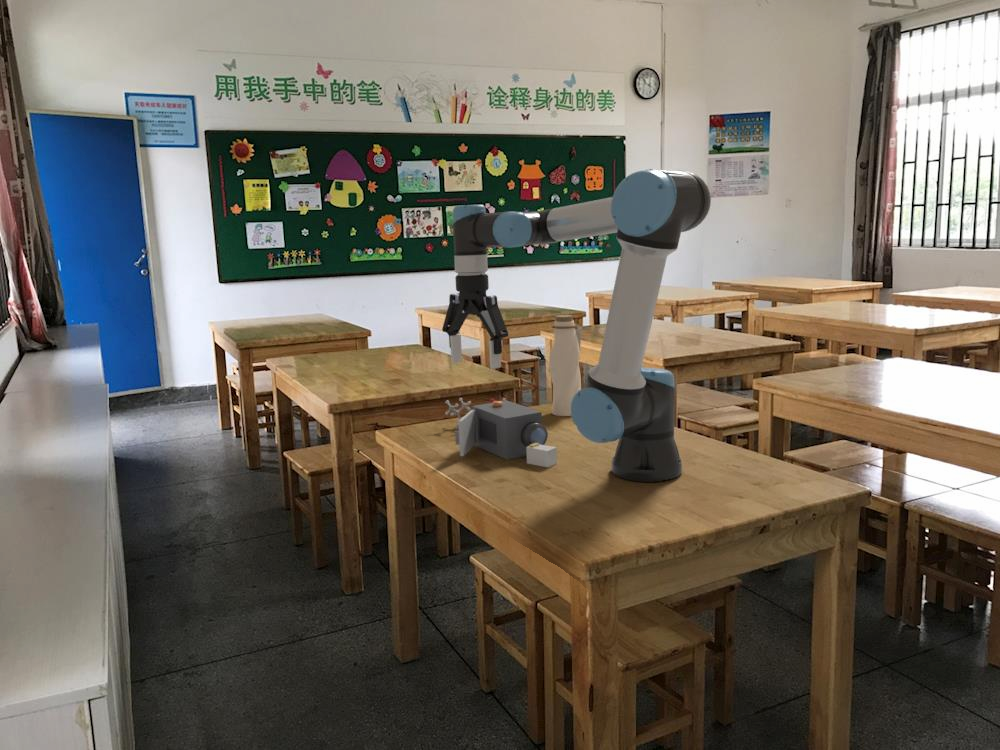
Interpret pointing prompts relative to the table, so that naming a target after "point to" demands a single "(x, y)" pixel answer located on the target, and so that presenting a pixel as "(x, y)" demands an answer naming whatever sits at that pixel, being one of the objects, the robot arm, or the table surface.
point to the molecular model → (464, 405)
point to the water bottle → (565, 364)
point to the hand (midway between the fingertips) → (475, 365)
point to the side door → (466, 432)
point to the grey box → (508, 428)
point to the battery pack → (541, 455)
